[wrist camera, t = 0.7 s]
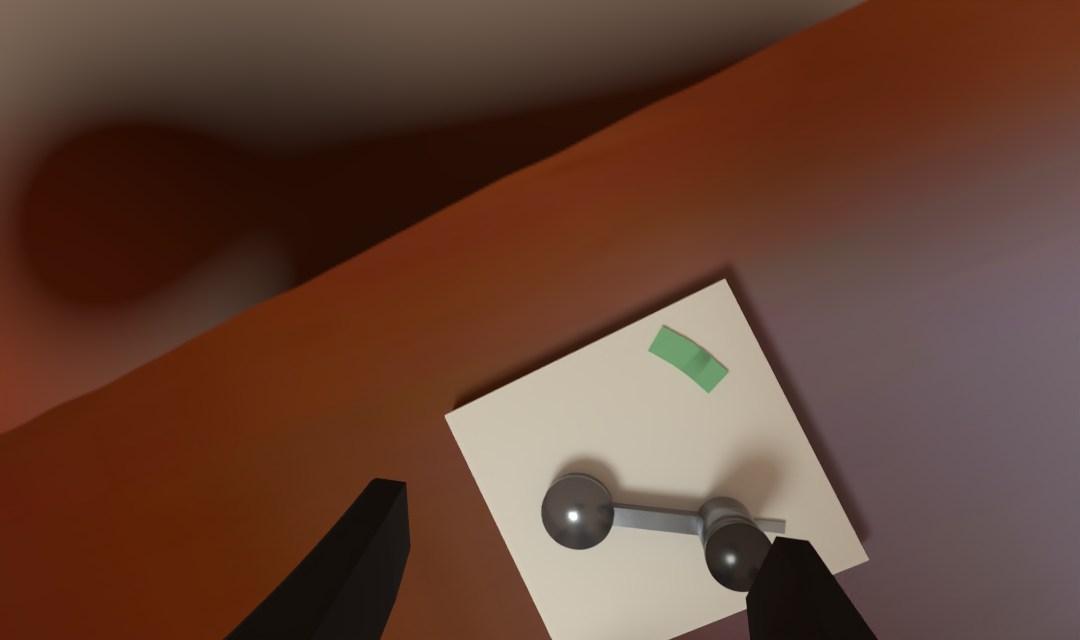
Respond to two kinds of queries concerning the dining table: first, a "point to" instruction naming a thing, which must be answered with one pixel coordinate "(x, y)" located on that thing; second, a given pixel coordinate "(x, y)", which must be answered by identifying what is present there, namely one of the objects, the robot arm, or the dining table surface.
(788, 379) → the dining table surface
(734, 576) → the dark grey elongated piece
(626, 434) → the dial board
